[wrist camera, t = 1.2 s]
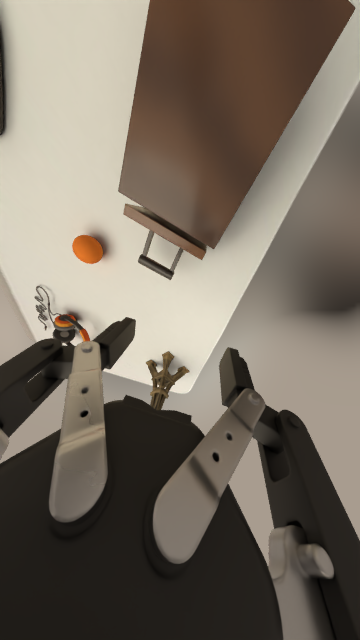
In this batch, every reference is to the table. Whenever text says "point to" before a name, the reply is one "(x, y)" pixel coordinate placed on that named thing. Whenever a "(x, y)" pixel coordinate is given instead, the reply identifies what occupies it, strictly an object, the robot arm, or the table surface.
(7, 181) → the table surface
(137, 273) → the table surface
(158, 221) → the drawer
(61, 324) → the headphones
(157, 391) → the eiffel tower
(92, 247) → the ball
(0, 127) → the media streaming box
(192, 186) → the cabinet
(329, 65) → the table surface
